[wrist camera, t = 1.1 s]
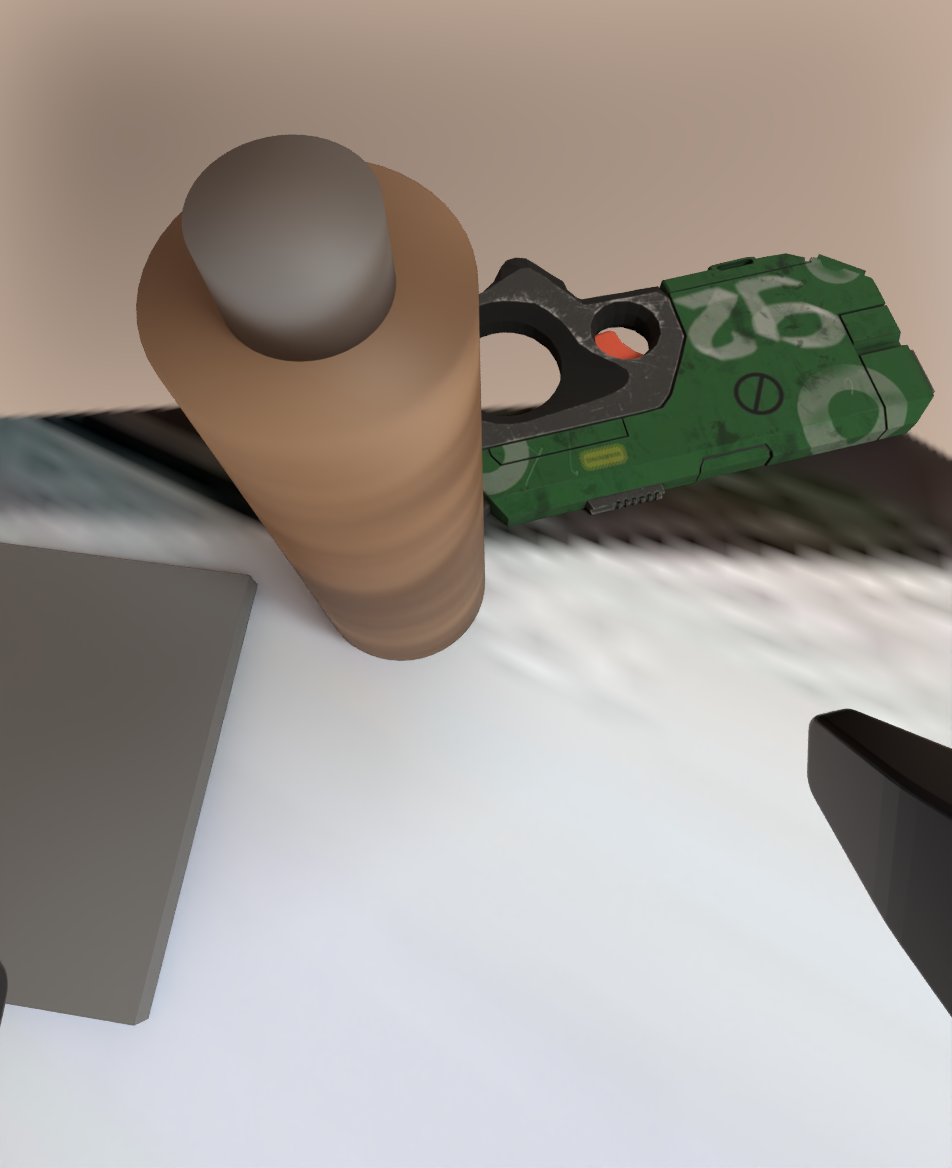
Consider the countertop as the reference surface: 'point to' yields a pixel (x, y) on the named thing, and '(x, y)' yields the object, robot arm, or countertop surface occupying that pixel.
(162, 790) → the trivet mat
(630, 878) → the countertop surface
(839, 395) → the gun
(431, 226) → the pepper mill
